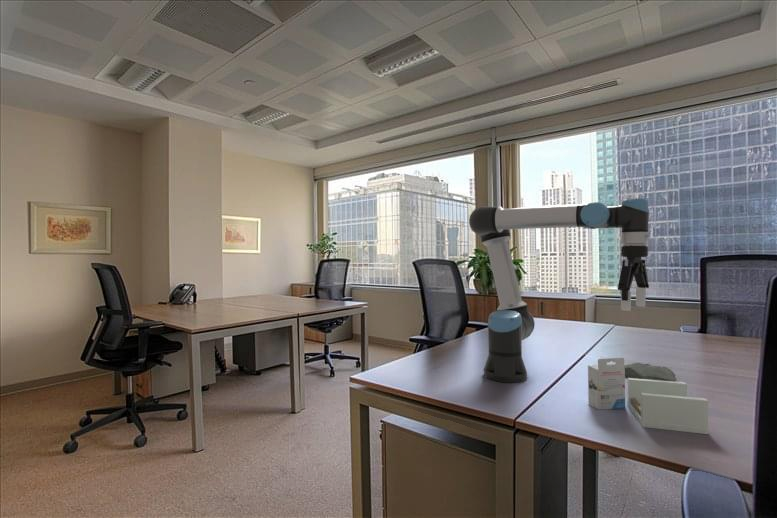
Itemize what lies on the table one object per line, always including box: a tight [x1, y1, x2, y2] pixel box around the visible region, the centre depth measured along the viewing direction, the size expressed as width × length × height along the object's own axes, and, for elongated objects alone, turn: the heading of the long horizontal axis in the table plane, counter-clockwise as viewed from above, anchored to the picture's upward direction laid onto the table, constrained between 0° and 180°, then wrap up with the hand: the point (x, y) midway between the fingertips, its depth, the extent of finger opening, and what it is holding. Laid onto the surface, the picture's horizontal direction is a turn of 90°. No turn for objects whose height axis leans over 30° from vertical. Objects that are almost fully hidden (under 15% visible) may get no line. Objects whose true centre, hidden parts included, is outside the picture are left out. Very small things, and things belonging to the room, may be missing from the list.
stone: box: [624, 362, 677, 382], centre depth 138 cm, size 18×5×15 cm
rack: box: [626, 377, 710, 435], centre depth 104 cm, size 14×15×8 cm
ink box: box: [587, 357, 626, 410], centre depth 113 cm, size 8×5×15 cm, turn 96°
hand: (633, 308), depth 129 cm, fingers open, 13 cm apart
